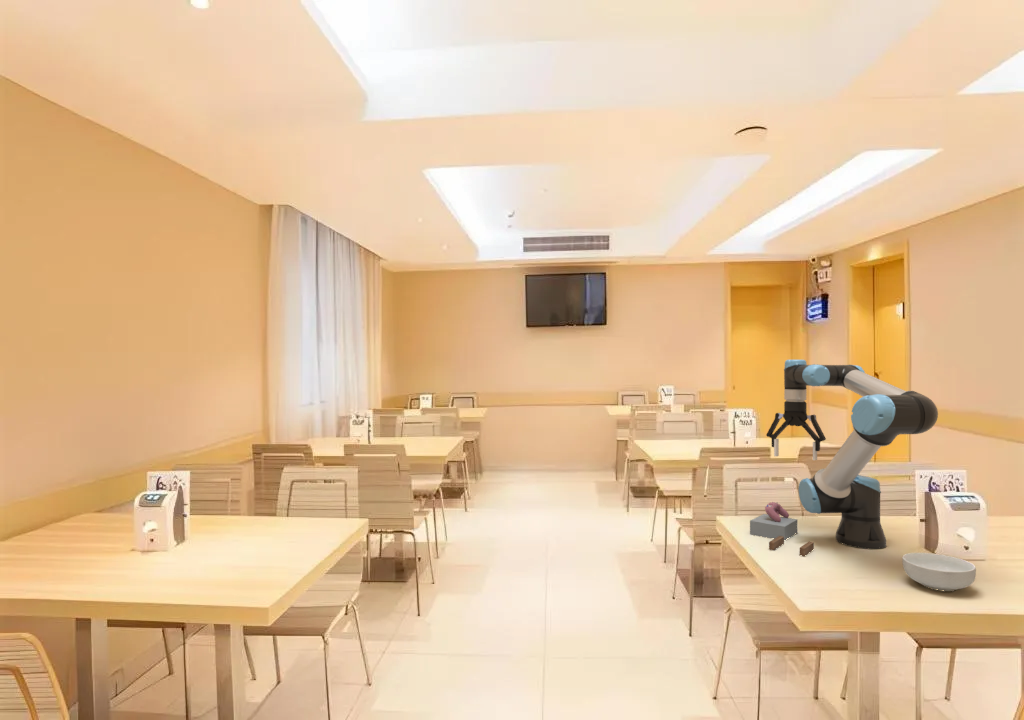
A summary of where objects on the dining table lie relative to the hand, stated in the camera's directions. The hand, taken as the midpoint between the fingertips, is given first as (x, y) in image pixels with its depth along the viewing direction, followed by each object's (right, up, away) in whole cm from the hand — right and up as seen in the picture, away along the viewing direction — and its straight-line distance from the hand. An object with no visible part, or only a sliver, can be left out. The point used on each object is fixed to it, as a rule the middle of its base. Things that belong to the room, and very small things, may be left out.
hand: (795, 458), depth 226 cm
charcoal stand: (-10, -27, -6) cm, 29 cm away
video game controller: (-9, -22, -4) cm, 24 cm away
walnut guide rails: (-13, -26, -25) cm, 39 cm away
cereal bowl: (+12, -26, -58) cm, 65 cm away
